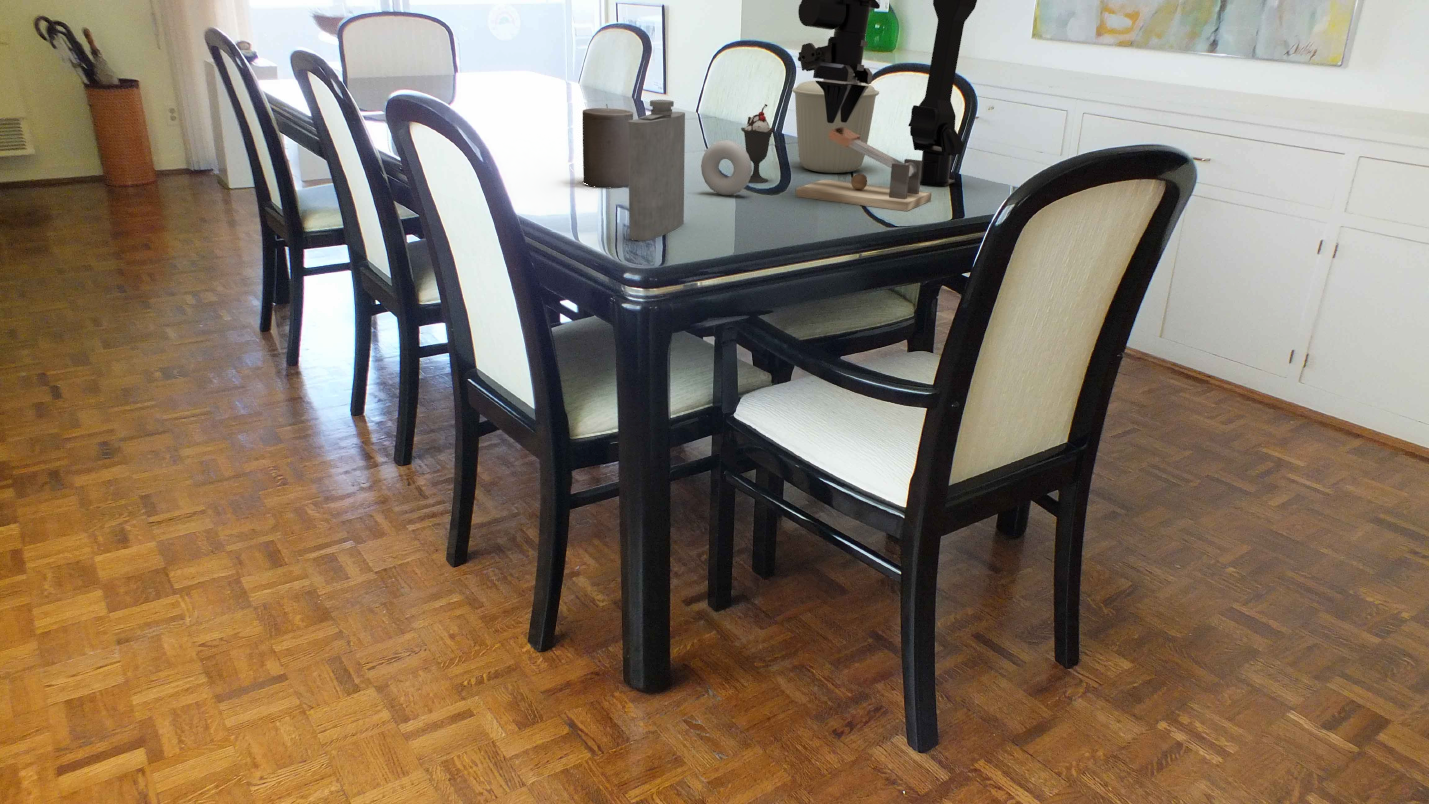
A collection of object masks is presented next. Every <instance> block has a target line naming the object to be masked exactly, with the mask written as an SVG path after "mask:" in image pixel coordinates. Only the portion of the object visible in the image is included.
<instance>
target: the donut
mask: <svg viewBox="0 0 1429 804" xmlns="http://www.w3.org/2000/svg"><path fill="white" fill-rule="evenodd" d="M723 160H729V161H730V163H731V164H732V166H733V173H731V175H730V176H725V175H723V174H722V173H721V171H720V163H721V162H722V161H723ZM752 168H753V167H752V161H751V160H750V158H749V155H748V153H747V152H746V148H744V147H743V146H742V145H740V144H739V143H737V142H736V141H732V140H729V139H726V140H718V141H716V142H714V143H711V145H710V146H709V147H708V148H707V149H706V150H705V151H704V153H703V156H702V158H701V164H700V169H701V176H702V178H703V180H704V183H705V184H706V185H707V187H709V189H711V191H713V192H715V193H716V194H719V195H722V196H734V195H735V194H738V193H741V192H742V191H743V190H744V188H745V187H747V186H748V184H749V183H750V182H749V180H750V178H751V175H752V173H753V169H752Z"/></svg>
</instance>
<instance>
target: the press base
mask: <svg viewBox="0 0 1429 804" xmlns="http://www.w3.org/2000/svg"><path fill="white" fill-rule="evenodd" d="M903 161H904V162H903V163H904V164H899V163H892V168H890V182H889V186H888V187H887V186H880V185H872V184H868V178H867V176H866V175H865V174H863V173H861V172H860V173H856V174H854V175H852V177H851V179H850V182H848V181H839V180H832V179H831V180H830V179H826V178H825V179H821V180H819V181H815V182H811V183H808V184H806V185H802V186H799V187H796V188H795V197H797V198H804V199H813V200H819V201H820V200H821V201H826V202H835V203H842V204H849V205H850V204H851V205H857V206H865V207H873V208H879V209H886V210H888V209H889V210H895V211H904V212H908V211H910V210H913V209H915V208H917V207H919V206H922V205H925V204H927V203H928V202H931V201H932V192H930V191H921V190H920V187H921V184H920V177H921V167H922V159H921V160H919V159H913V158H912V159H911V158H906V159H904V160H903ZM909 162H913V163H915V164H916V166H917V172H916V174H914V175H912V176H910V177H909V169H910V165H908V164H906V163H909Z"/></svg>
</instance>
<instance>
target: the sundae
mask: <svg viewBox="0 0 1429 804" xmlns="http://www.w3.org/2000/svg"><path fill="white" fill-rule="evenodd" d="M767 107H768V104H767V103H764V106H763V107H762V108H761V111H759V112H758V114H757V113H756V114H755V115H752V117H751V116H747V122H746V125H745V127H741V128H740V130H741V132H743V134H744V141H745V142H744V143H745V151H746V152H747V153H748V155H749V158H750V160H751V163H753V169H752V173H751V178H750V180H749V182H748V183H753V184H759V183H760V184H762V183H767V182H769V180H768V179H767V178H765V177H763V176H761V174H760V164H761V162H763V161H764V160H765V159H766V158H767V155H768V151H769V146H770V141H771V137H772V134H773V133H774V132H775V131H776V128H772V127H770V124H769V122H768V121H767V119H766V116H765V112H764V110H765V109H766V108H767Z"/></svg>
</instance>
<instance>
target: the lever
mask: <svg viewBox="0 0 1429 804" xmlns="http://www.w3.org/2000/svg"><path fill="white" fill-rule="evenodd" d="M828 138H830V139H831V140H833V141H835V142H837V143H839V144H841V145H843V146H845V147H848V146H849V147H851V148H853V149H855V150H857V151H859V152H861V153H863V154H865V156H867V157H869V158H870V159H873V160H874V161H876V162H878V163H880V164H882V165H884V166H886V167H888V168H889V169H891V168H892V163H899V164H904V162H903V161H900V160H899V159H896V158H894V157H893V156H890V155H888V154H887V153H884V152H883V151H881V150H879V149H877V148H875V147H873V146H872V145H870V144H868V143H867V144H866V143H864V142H862V141H860V140H859V139H860V136H859V135H857V134H856V133H854V132H852V131H850V130H848V129H846V128H844V127H839V128H835V129H831V131H830V133H829V136H828ZM906 164H908V165H910V169H909V177H910V176H912V175H914V174H916V172H917V166H916V164H915V163H913V162H909V163H906Z"/></svg>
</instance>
